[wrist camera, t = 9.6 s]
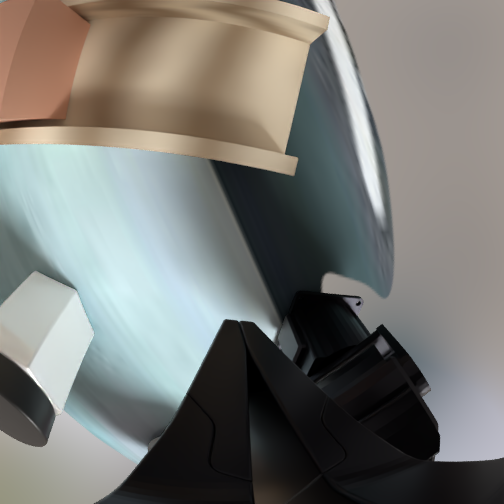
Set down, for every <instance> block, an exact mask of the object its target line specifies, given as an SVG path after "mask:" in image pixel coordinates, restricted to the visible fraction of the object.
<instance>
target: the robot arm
mask: <svg viewBox="0 0 504 504" xmlns="http://www.w3.org/2000/svg"><path fill="white" fill-rule="evenodd" d="M301 296H303V298H301V299H299V297H301ZM358 301H359V302H358ZM357 302H358V303H357ZM362 305H363V300H362V299H361V297H359V296H349V295H339V294H328V293H318V292H309V291H299V292H297V293H296V294H295V296H294V299H293V302H292V305H291V308H290V311H289V313H288V314H287V315H286V316H285V319H284V322H283V324H282V327H281V330H280V333H279V336H278V340H279V342H278V345H277V346H276V345H275V344H274V343H273V342H272V341H271V340H270V339H269V338H268V337H267V336H266V335H265V334H264V333H263V331H262V330H261V329H260V328H259V327H258V326H257V325H256V324H255V323H253V322H248V321H240V322H238V321H237V320H228V319H225V320H224V321H223V323H222V325H221V327H220V329H219V331H218V333H217V335H216V337H215V338H214V340H213V342H212V344H211V346H210V348H209V350H208V352H207V354H206V356H205V358H204V360H203V362H202V364H201V366H200V368H199V370H198V372H197V374H196V376H195V378H194V380H193V382H192V384H191V385H190V387H189V389H188V391H187V393H186V395H185V397H184V399H183V401H182V402H181V404H180V406H179V408H178V410H177V412H176V413H175V415H174V417H173V418H172V420H171V422H170V423H169V425H168V426H167V427H166V429H165V430H164V432H163V433H162V435H161V436H160V437H159V439H158V440H157V441H156V443H155V444H154V445H153V446H152V448H151V449H150V450H149V451H148V453H147V454H146V455H145V456H144V458H143V459H142V460H141V461H140V463H139V464H138V465H137V467H136V468H135V469H134V470H133V471H132V473H131V474H130V475H129V476H128V477H127V479H126V480H124V482H123V483H122V484H121V485H120V486H119V487H118V488H117V489H115V490H114V491H113V492H112V493H110V494H109V495H107V496H106V497H104V498H103V499H101V500H99V501H98V502H96V503H94V504H504V458H500V459H495V460H485V461H463V462H443V461H442V462H441V461H434V459H435V455H436V454H438V453H439V450H440V434H439V432H438V423H437V421H436V419H435V418H434V416H433V414H432V413H431V411H430V409H429V408H428V407H427V405H426V403H425V402H424V400H423V399H422V397H423V396H424V395H426V394H427V393H428V392H429V391H431V388H430V386H429V384H428V382H427V381H426V379H425V377H424V376H423V374H422V373H421V371H420V370H419V368H418V367H417V365H416V364H415V362H414V361H413V360H412V358H411V357H410V356H409V354H408V353H407V352H406V351H405V349H404V348H403V347H402V346H401V345H400V344H399V342H398V341H397V340H396V339H395V338H394V337H393V336H392V334H391V333H390V332H389V331H388V330H387V329H386V328H385V327H384V325H383V324H382V325H380V326H379V327H377V328H376V329H377V330H376V331H375V332H373V333H372V334H370V333H369V331H368V330H367V328H366V327H365V326H364V324H363V323H362V322H361V320H360V319H359V318H358V314H359V312H360V310H361V307H362Z"/></svg>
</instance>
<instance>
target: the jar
mask: <svg viewBox="0 0 504 504" xmlns="http://www.w3.org/2000/svg"><path fill="white" fill-rule="evenodd" d="M93 336H94V331H93V328H92V326H91V324H90V322H89V319H88V317H87V315H86V312H85V310H84V307H83V305H82V302H81V300H80V297H79V295H78V292H77V290H75V289H73V288H71V287H68V286H66V285H64V284H62V283H60V282H58V281H56V280H54V279H52V278H49V277H47V276H45V275H43V274H41V273H39V272H38V271H34V272H33V273H32V274H31V275H30V276H29V277H28V278H27V279H26V280H25V281H24V282H23V283H22V284H21V285H20V286H19V287H18V288H17V289H16V290H15V291H14V292H13V293H12V294H11V295H10V296H9V297H8V298H7V299H6V300H5V301H4V302H3V304H2V305H1V306H0V430H1V431H3V432H4V433H6V434H8V435H9V436H11V437H13V438H14V439H16V440H18V441H20V442H23V443H25V444H28V445H31V446H36V447H43V446H45V445H46V444H47V441H48V438H49V435H50V432H51V429H52V426H53V423H54V420H55V416H57V415H60V414H61V413H62V412H63V409H64V406H65V403H66V401H67V398H68V395H69V393H70V390H71V387H72V385H73V382H74V380H75V377H76V375H77V373H78V370H79V368H80V365H81V363H82V361H83V358H84V356H85V354H86V352H87V349H88V347H89V345H90V343H91V341H92V338H93Z"/></svg>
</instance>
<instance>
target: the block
mask: <svg viewBox="0 0 504 504" xmlns="http://www.w3.org/2000/svg"><path fill="white" fill-rule="evenodd" d="M90 26H91V25H90V24H89V23H88V22H87V21H85V20H84V19H83V18H82V17H80V16H79V15H78V14H77V13H75V12H74V11H73V10H72V9H70V8H69V7H68V6H66V5H65V4H64V3H63V2H61V1H60V0H7V1H5V2H2V3H0V123H5V122H16V121H29V120H51V119H66V114H67V109H68V103H69V99H70V94H71V89H72V85H73V81H74V77H75V73H76V69H77V66H78V62H79V59H80V55H81V52H82V49H83V46H84V43H85V40H86V37H87V34H88V31H89V28H90Z"/></svg>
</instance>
